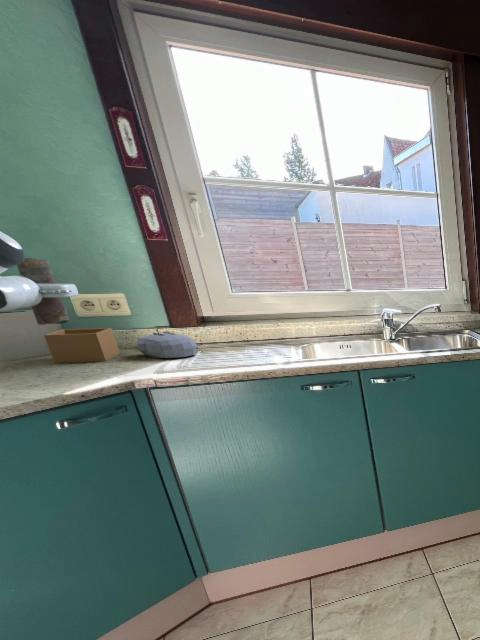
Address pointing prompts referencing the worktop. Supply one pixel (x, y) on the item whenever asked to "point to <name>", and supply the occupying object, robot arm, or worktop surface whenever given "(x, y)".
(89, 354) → the carton
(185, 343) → the grey rounded bag
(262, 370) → the worktop surface
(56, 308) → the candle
